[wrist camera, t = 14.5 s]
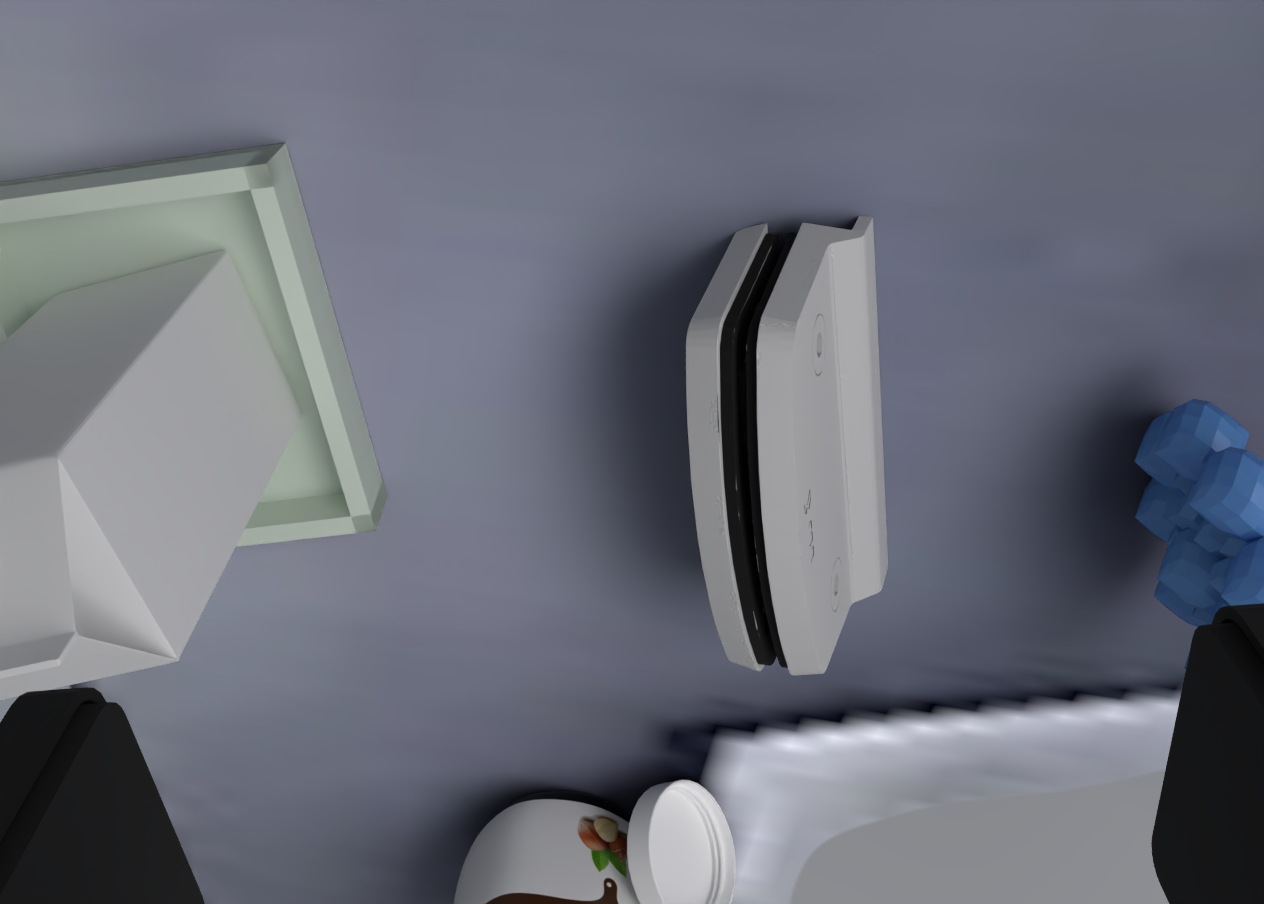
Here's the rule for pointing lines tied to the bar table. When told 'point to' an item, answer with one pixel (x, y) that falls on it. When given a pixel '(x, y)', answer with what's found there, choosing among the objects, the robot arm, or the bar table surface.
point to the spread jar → (603, 851)
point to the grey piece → (788, 441)
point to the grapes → (1204, 511)
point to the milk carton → (129, 467)
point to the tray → (271, 273)
